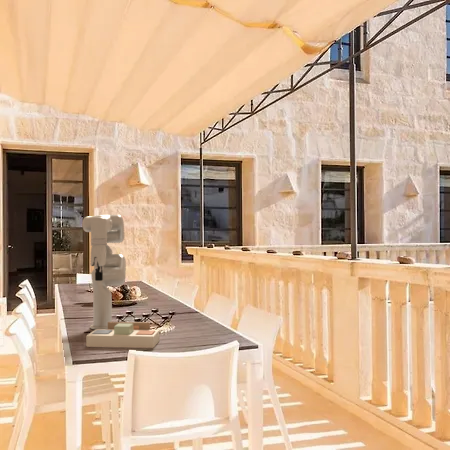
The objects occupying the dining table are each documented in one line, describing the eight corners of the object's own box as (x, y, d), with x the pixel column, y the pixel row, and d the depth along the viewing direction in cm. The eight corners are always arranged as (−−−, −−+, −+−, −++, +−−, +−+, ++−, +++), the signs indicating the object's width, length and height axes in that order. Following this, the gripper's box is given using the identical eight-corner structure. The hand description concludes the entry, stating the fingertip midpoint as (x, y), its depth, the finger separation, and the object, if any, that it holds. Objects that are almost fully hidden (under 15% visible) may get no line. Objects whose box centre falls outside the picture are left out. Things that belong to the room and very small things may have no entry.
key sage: (114, 335, 228) (114, 326, 228) (118, 332, 235) (118, 323, 235) (129, 335, 227) (129, 326, 227) (133, 332, 234) (133, 323, 234)
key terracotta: (136, 342, 227) (136, 333, 227) (139, 339, 234) (139, 330, 234) (151, 342, 227) (151, 333, 227) (154, 339, 234) (154, 330, 234)
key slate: (92, 342, 228) (92, 333, 228) (97, 338, 235) (97, 329, 235) (107, 342, 228) (107, 333, 228) (112, 338, 235) (112, 330, 235)
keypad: (86, 346, 225) (86, 328, 225) (98, 338, 241) (98, 321, 241) (153, 347, 223) (153, 329, 223) (160, 339, 240) (160, 322, 240)
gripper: (96, 242, 254) (96, 278, 254) (86, 243, 239) (86, 282, 239) (111, 242, 253) (110, 278, 253) (101, 243, 238) (101, 282, 238)
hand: (98, 280), depth 246 cm, fingers closed
